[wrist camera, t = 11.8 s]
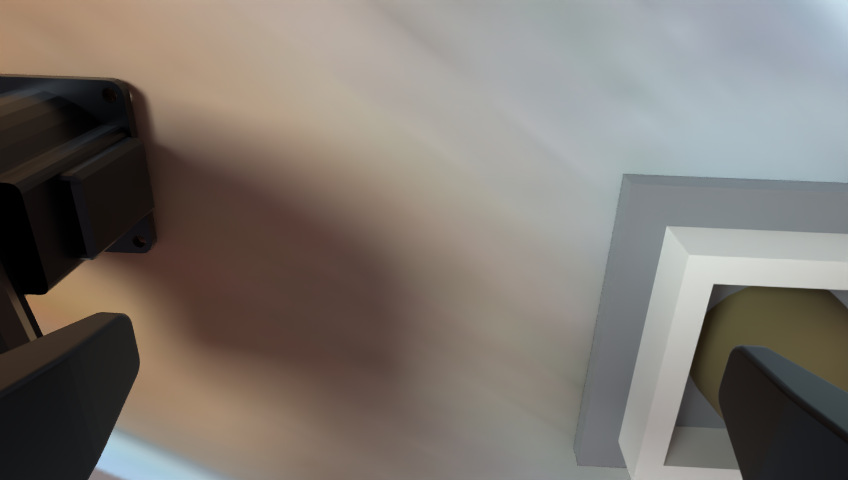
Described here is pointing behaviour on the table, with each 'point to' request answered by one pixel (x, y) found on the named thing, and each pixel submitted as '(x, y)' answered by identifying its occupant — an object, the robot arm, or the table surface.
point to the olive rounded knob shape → (774, 333)
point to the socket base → (692, 308)
